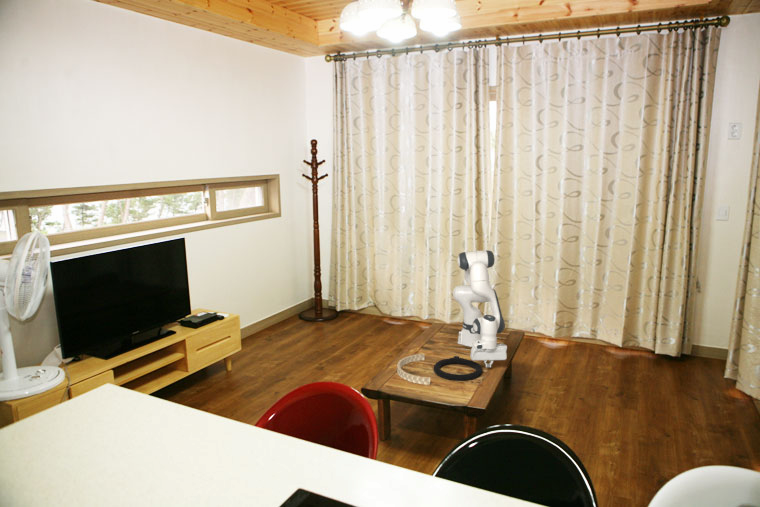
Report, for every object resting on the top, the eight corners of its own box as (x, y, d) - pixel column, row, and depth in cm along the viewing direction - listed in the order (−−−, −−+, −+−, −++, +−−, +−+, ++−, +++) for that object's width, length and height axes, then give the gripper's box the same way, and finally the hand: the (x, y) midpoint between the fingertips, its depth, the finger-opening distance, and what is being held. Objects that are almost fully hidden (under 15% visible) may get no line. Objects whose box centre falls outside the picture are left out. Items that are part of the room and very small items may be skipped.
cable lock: (433, 375, 283) (433, 354, 312) (433, 381, 283) (433, 360, 313) (484, 376, 280) (479, 355, 309) (484, 383, 280) (479, 362, 310)
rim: (395, 359, 314) (395, 354, 314) (424, 359, 315) (424, 353, 314) (398, 385, 278) (398, 379, 277) (430, 384, 278) (430, 378, 277)
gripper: (505, 341, 297) (505, 364, 299) (470, 342, 297) (469, 365, 299) (508, 345, 291) (507, 368, 293) (472, 346, 291) (471, 369, 293)
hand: (488, 367), depth 296 cm, fingers closed
